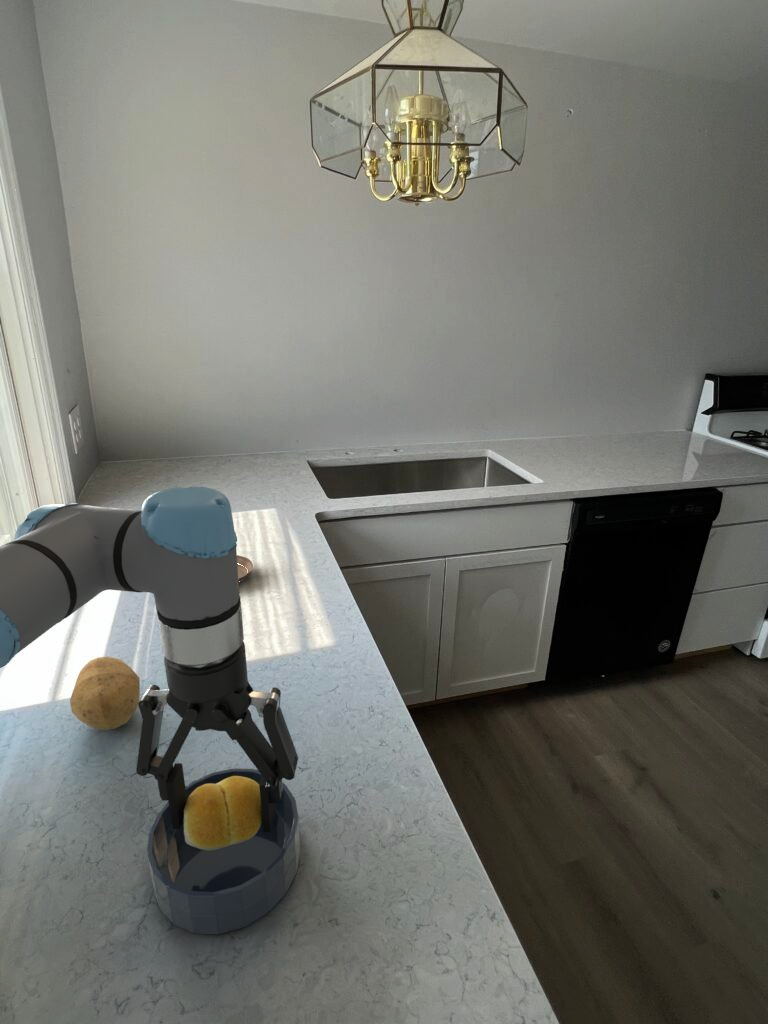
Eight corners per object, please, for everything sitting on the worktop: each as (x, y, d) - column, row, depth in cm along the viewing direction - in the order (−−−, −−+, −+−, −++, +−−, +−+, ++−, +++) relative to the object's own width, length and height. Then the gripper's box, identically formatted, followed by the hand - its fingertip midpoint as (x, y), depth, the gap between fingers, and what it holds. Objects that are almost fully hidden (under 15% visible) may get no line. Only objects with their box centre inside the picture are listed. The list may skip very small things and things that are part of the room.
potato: (77, 759, 78) (66, 713, 75) (73, 700, 89) (64, 658, 87) (151, 735, 82) (144, 691, 80) (139, 682, 94) (132, 642, 91)
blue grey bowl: (128, 934, 57) (119, 893, 54) (185, 802, 72) (180, 766, 69) (285, 940, 56) (282, 899, 54) (309, 806, 71) (307, 770, 69)
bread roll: (274, 836, 60) (271, 808, 58) (186, 865, 57) (181, 836, 55) (260, 779, 67) (258, 753, 66) (182, 801, 64) (178, 775, 63)
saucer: (230, 598, 121) (229, 587, 120) (174, 586, 125) (172, 576, 125) (265, 569, 134) (264, 559, 133) (213, 560, 139) (212, 550, 138)
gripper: (322, 628, 57) (327, 794, 65) (111, 623, 57) (141, 789, 65) (311, 673, 50) (319, 854, 58) (71, 667, 50) (110, 847, 58)
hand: (225, 819), depth 62 cm, fingers closed on bread roll, 9 cm apart
